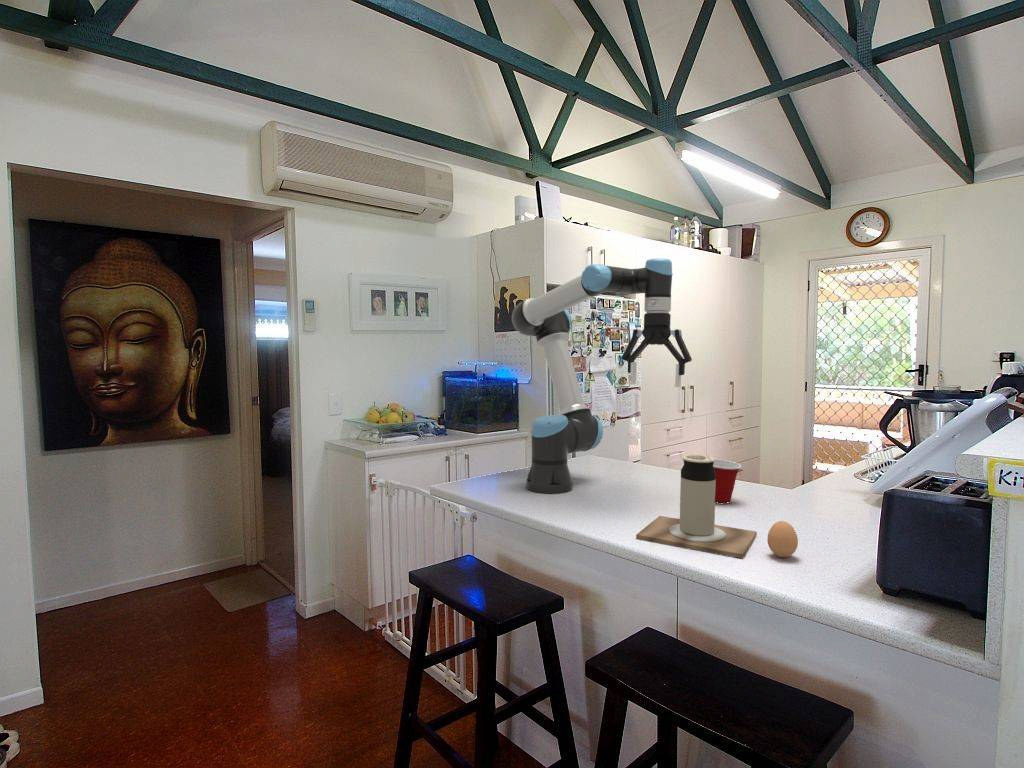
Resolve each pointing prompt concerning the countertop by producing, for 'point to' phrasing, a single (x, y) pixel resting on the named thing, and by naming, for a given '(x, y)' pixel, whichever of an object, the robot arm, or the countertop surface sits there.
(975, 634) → the countertop surface
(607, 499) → the countertop surface
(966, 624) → the countertop surface
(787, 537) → the egg
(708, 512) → the travel mug
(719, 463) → the plastic cup
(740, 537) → the walnut board
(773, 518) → the countertop surface
